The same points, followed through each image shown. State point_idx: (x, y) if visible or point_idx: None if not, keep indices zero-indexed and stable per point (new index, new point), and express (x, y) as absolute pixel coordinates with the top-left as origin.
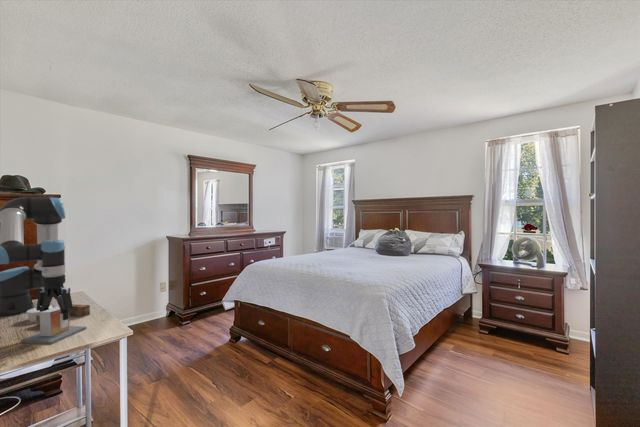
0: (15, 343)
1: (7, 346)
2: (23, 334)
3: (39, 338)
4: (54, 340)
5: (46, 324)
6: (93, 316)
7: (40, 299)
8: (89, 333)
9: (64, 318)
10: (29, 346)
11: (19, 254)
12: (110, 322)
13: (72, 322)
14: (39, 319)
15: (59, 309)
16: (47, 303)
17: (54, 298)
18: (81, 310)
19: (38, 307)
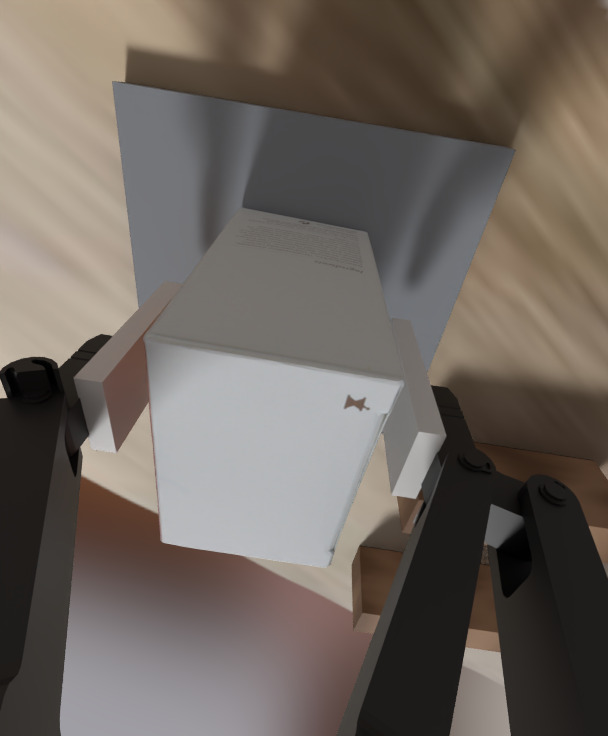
0: (549, 113)
1: (593, 22)
2: (603, 324)
3: (335, 178)
4: (118, 114)
5: (273, 258)
6: None
7: (579, 724)
8: (41, 309)
9: (100, 347)
10: (321, 17)
11: None
12: (101, 464)
13: (364, 485)
14: (595, 499)
15: (156, 461)
16: (393, 593)
17: (2, 716)
18: (383, 588)
19: (544, 520)
